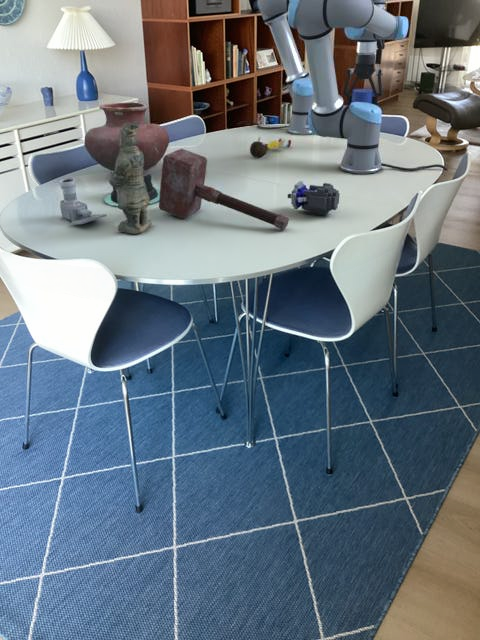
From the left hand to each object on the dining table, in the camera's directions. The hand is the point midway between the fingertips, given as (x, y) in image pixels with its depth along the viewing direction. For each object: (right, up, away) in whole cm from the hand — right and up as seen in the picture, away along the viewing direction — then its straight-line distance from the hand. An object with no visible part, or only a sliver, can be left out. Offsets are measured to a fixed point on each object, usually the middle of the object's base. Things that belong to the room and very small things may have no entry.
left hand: (371, 65), depth 268 cm
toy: (-41, -90, -97) cm, 139 cm away
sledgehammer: (-68, -93, -101) cm, 154 cm away
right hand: (-13, -36, -35) cm, 52 cm away
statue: (-94, -96, -106) cm, 172 cm away
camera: (-112, -93, -99) cm, 176 cm away
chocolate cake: (-99, -82, -80) cm, 152 cm away
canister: (-13, -39, -34) cm, 53 cm away
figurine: (-51, -52, -31) cm, 79 cm away
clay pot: (-105, -67, -54) cm, 136 cm away
